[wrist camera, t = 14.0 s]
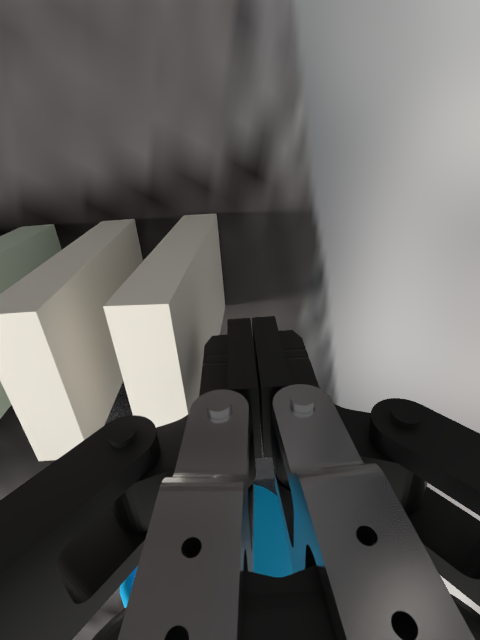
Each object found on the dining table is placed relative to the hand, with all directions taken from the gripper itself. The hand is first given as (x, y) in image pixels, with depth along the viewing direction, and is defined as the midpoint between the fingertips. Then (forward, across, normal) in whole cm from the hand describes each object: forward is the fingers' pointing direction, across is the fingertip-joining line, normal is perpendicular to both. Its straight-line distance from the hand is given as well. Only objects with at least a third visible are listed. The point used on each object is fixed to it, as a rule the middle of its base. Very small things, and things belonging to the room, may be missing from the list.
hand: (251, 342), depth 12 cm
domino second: (+8, +6, 0) cm, 10 cm away
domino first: (+8, +2, 0) cm, 8 cm away
